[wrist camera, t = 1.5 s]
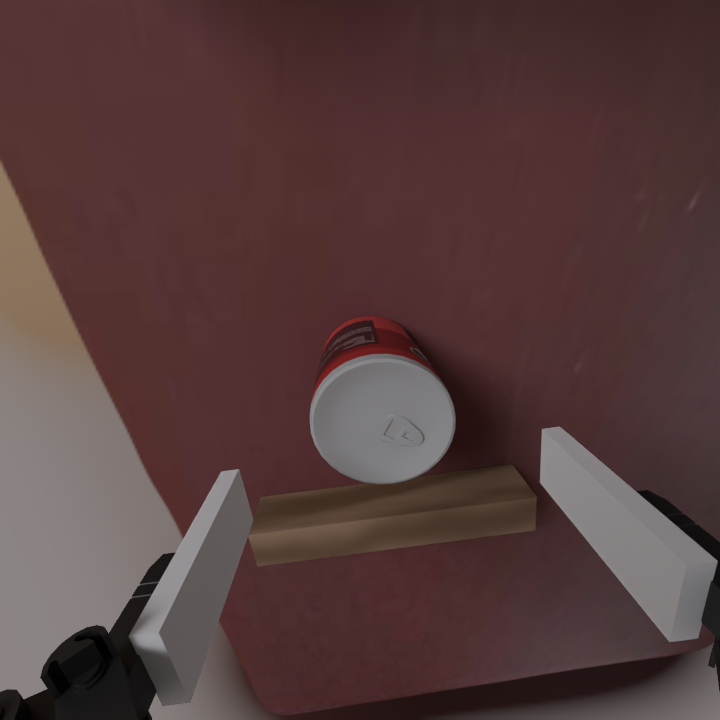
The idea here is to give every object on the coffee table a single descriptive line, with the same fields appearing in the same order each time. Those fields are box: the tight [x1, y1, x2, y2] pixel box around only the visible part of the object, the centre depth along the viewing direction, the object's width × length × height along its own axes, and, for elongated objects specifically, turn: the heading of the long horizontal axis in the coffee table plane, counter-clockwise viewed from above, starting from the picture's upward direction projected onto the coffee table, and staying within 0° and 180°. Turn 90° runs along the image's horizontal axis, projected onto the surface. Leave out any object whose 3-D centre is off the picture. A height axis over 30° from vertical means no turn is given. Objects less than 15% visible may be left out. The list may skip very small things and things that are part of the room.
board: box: [248, 464, 537, 566], centre depth 31 cm, size 4×24×4 cm, turn 97°
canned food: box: [310, 316, 456, 484], centre depth 24 cm, size 8×8×11 cm
